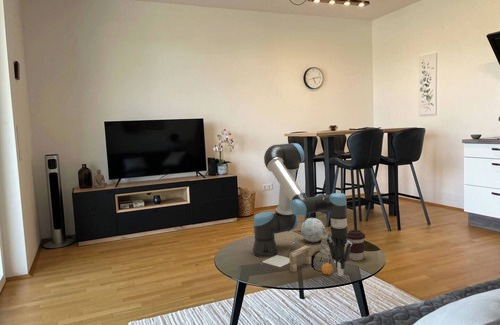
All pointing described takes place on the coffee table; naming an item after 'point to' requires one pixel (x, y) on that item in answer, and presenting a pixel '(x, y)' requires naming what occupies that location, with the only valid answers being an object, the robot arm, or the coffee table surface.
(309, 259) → the bridge
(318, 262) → the coffee table surface
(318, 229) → the puzzle ball
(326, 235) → the ceramic cottage
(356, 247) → the coffee cup
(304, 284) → the coffee table surface
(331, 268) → the ball
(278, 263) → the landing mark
